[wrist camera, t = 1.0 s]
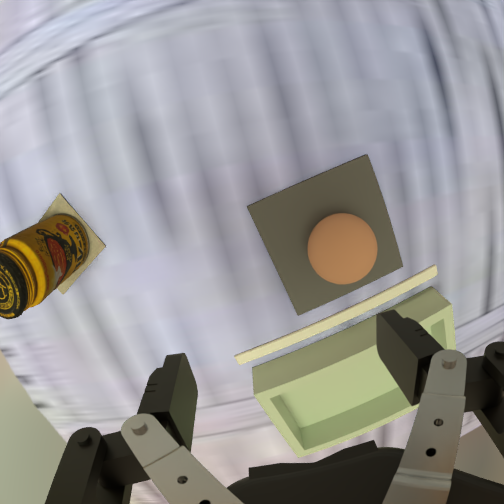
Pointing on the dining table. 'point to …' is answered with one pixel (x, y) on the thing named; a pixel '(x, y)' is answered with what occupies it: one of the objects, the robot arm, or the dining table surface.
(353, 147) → the dining table surface
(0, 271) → the condiment
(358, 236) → the ball
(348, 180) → the mat
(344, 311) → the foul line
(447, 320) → the tray
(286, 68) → the dining table surface
